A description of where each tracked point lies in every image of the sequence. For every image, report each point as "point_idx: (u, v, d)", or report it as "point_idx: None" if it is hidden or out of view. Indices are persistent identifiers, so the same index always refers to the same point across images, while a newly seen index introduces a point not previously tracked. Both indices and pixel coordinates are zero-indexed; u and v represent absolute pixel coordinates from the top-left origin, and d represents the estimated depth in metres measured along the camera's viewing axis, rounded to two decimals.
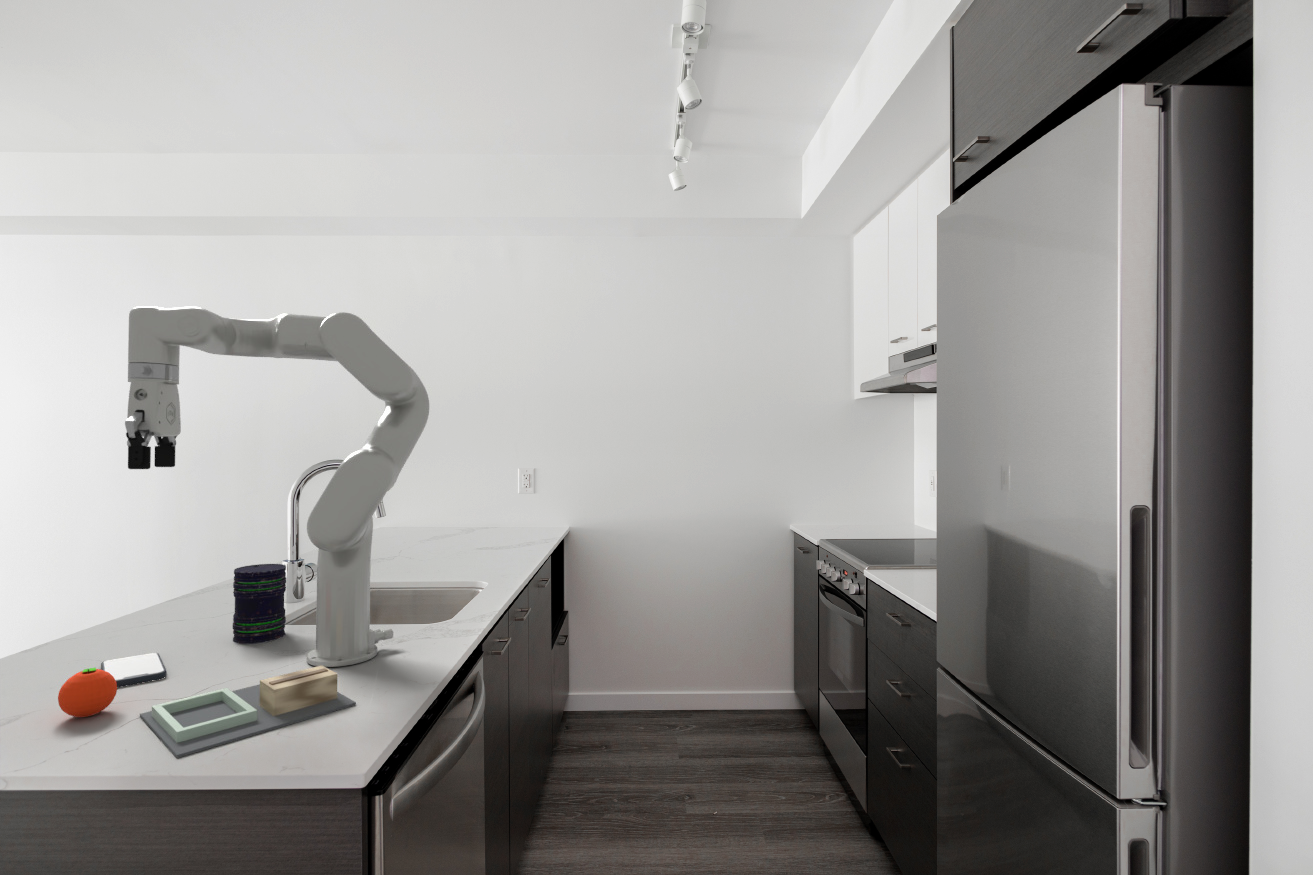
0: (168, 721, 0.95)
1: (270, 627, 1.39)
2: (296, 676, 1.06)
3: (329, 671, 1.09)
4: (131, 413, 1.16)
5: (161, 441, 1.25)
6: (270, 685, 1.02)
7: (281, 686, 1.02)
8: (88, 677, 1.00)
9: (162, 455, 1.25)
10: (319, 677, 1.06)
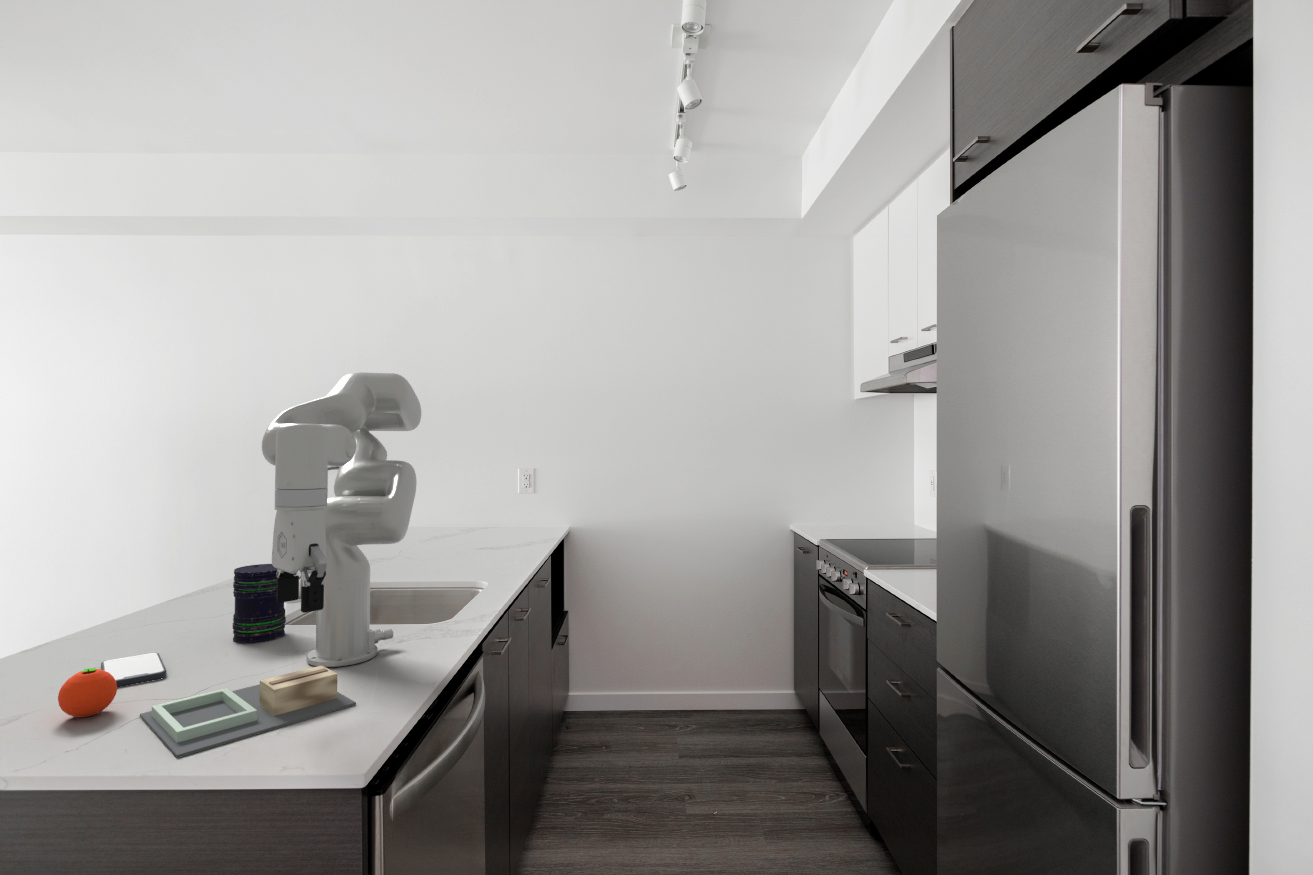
0: (168, 721, 0.95)
1: (270, 627, 1.39)
2: (296, 676, 1.06)
3: (329, 671, 1.09)
4: None
5: None
6: (270, 685, 1.02)
7: (281, 686, 1.02)
8: (88, 677, 1.00)
9: None
10: (319, 677, 1.06)
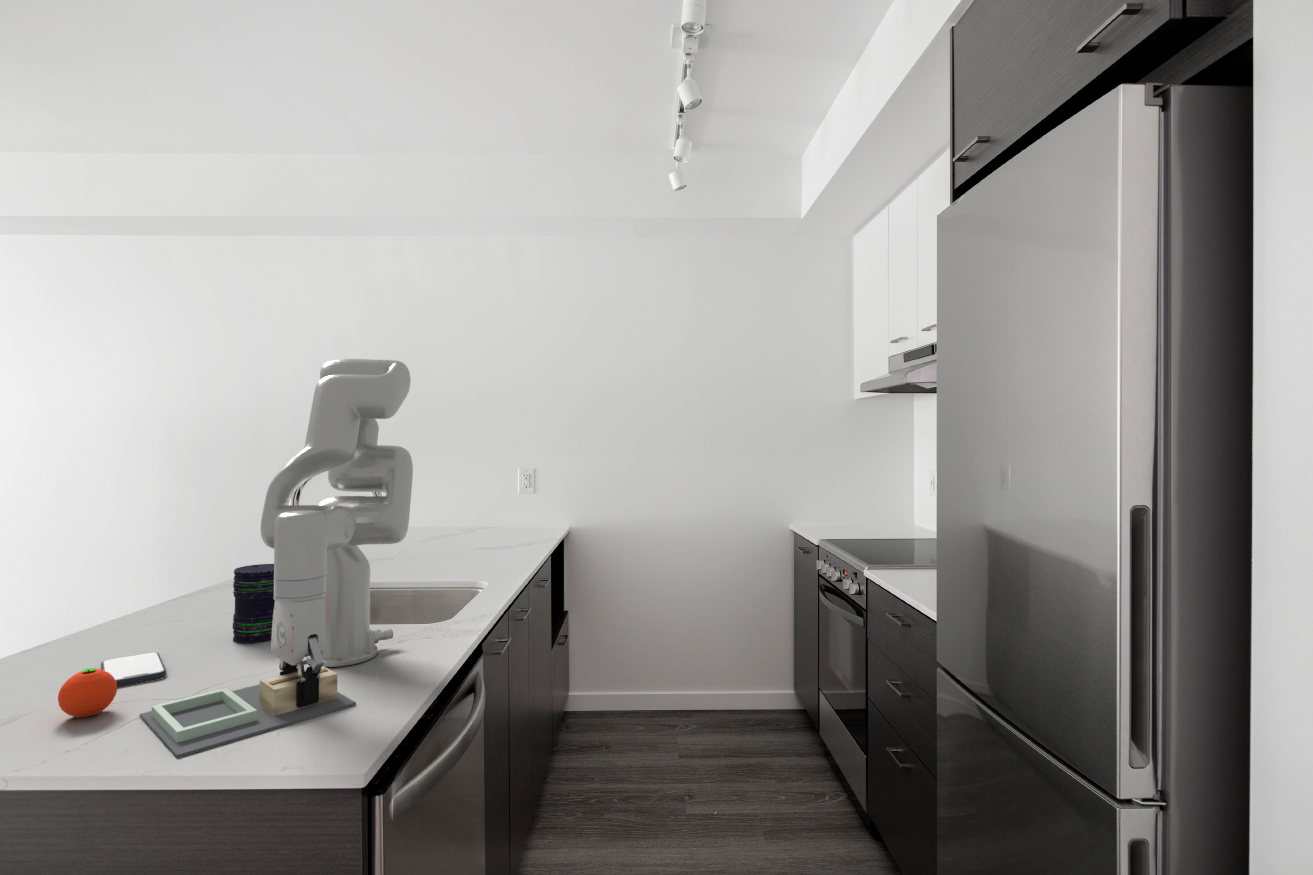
0: (168, 721, 0.95)
1: (270, 627, 1.39)
2: (296, 676, 1.06)
3: (329, 671, 1.09)
4: None
5: None
6: (270, 685, 1.02)
7: (281, 686, 1.02)
8: (88, 677, 1.00)
9: None
10: None
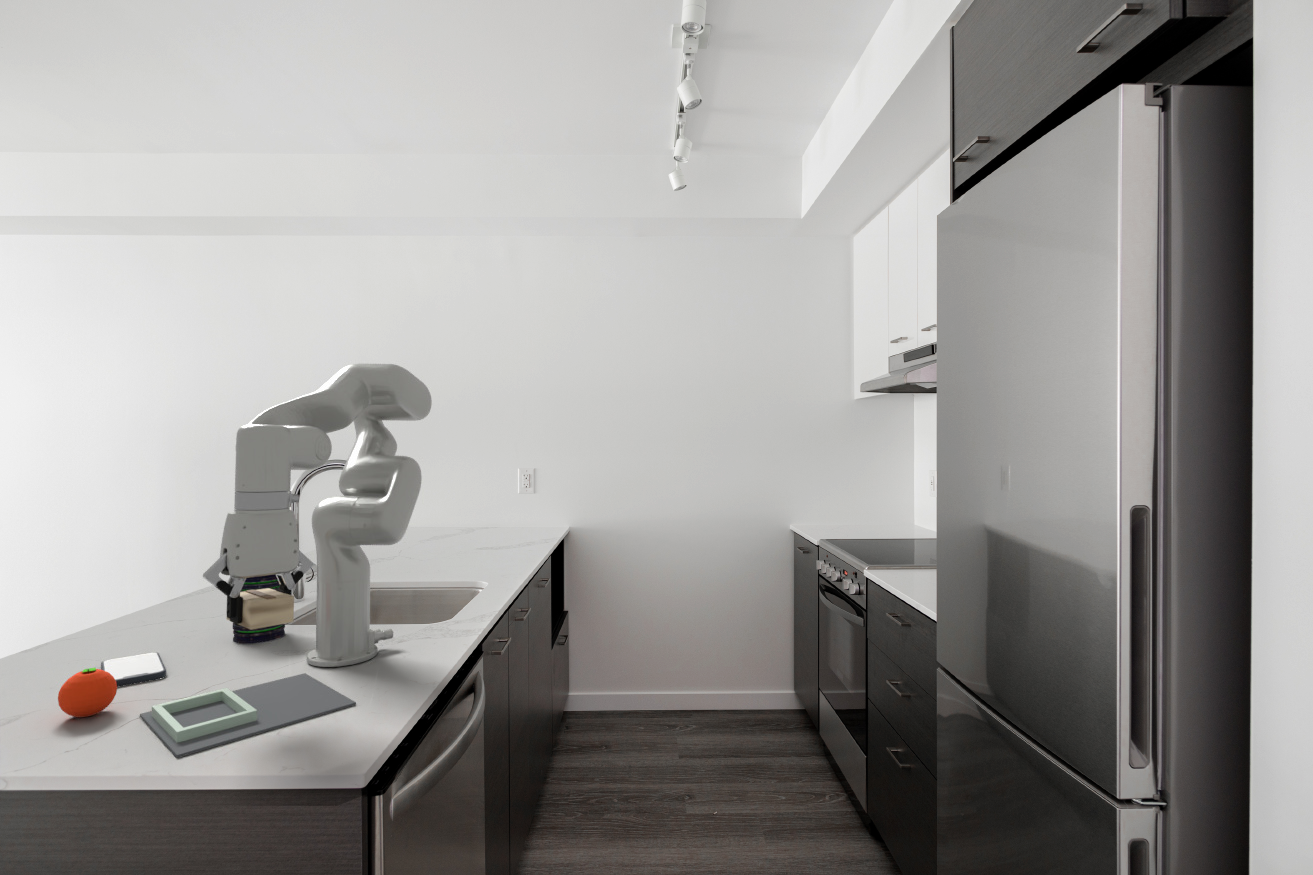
0: (168, 721, 0.95)
1: (270, 627, 1.39)
2: (260, 593, 1.03)
3: (265, 600, 0.99)
4: None
5: None
6: (244, 591, 1.05)
7: None
8: (88, 677, 1.00)
9: None
10: (247, 599, 0.99)
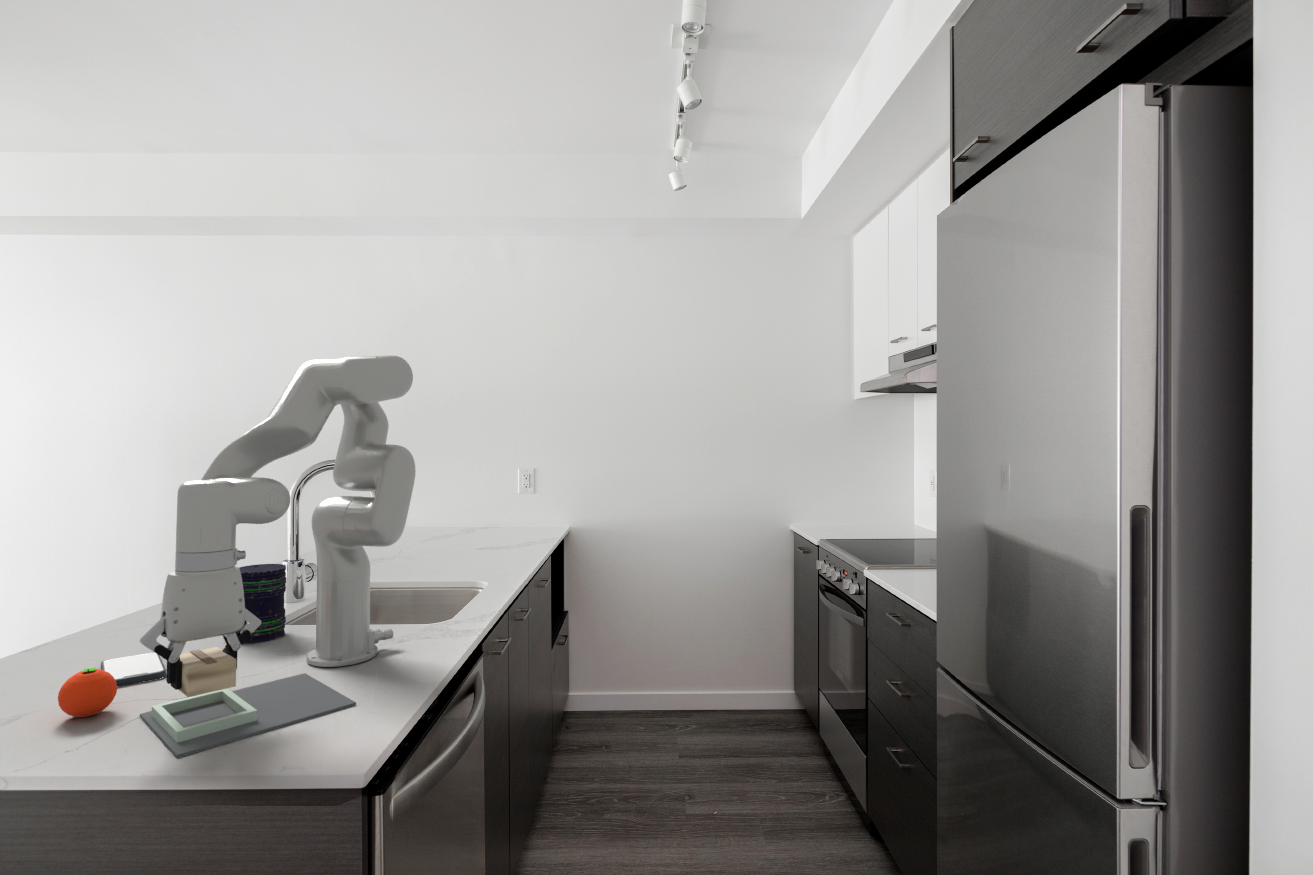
0: (168, 721, 0.95)
1: (270, 627, 1.39)
2: (203, 655, 0.99)
3: (204, 665, 0.96)
4: None
5: None
6: (189, 652, 1.02)
7: None
8: (88, 677, 1.00)
9: None
10: (186, 664, 0.96)
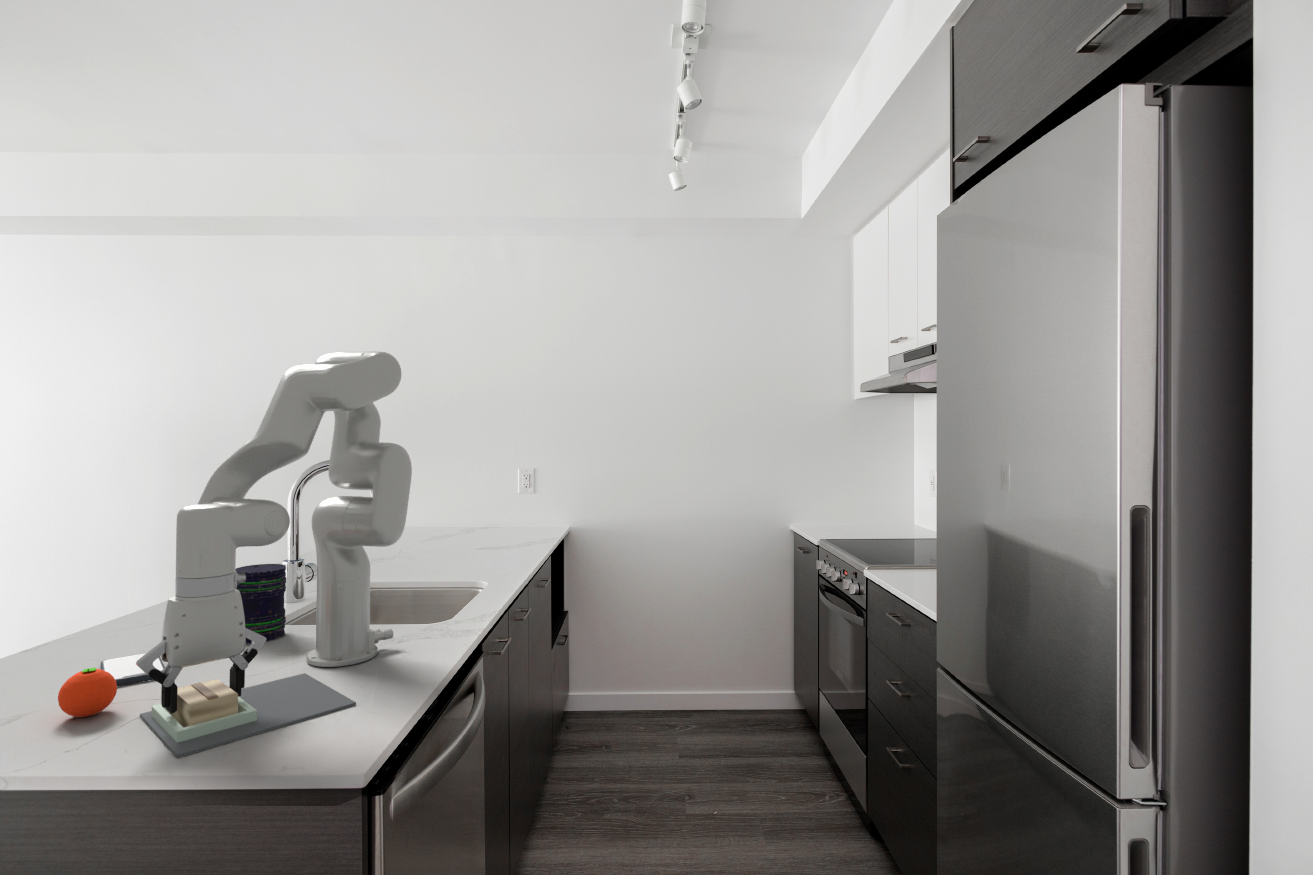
0: (168, 721, 0.95)
1: (270, 627, 1.39)
2: (204, 689, 1.00)
3: (206, 700, 0.96)
4: None
5: None
6: (190, 685, 1.02)
7: (177, 690, 1.00)
8: (88, 677, 1.00)
9: None
10: (188, 700, 0.96)
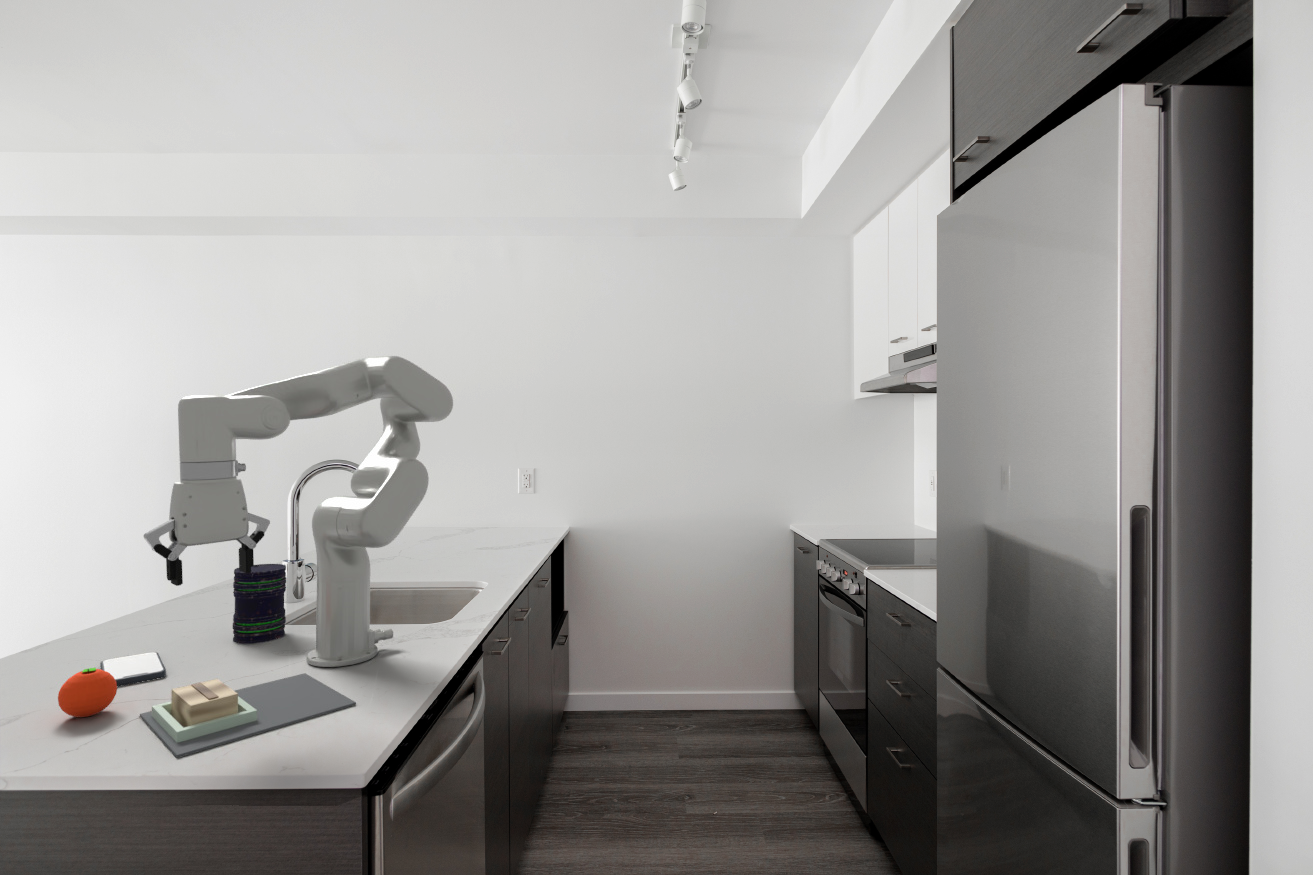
0: (168, 721, 0.95)
1: (270, 627, 1.39)
2: (204, 689, 1.00)
3: (206, 700, 0.96)
4: (247, 514, 1.09)
5: None
6: (190, 685, 1.02)
7: (177, 690, 1.00)
8: (88, 677, 1.00)
9: None
10: (188, 700, 0.96)
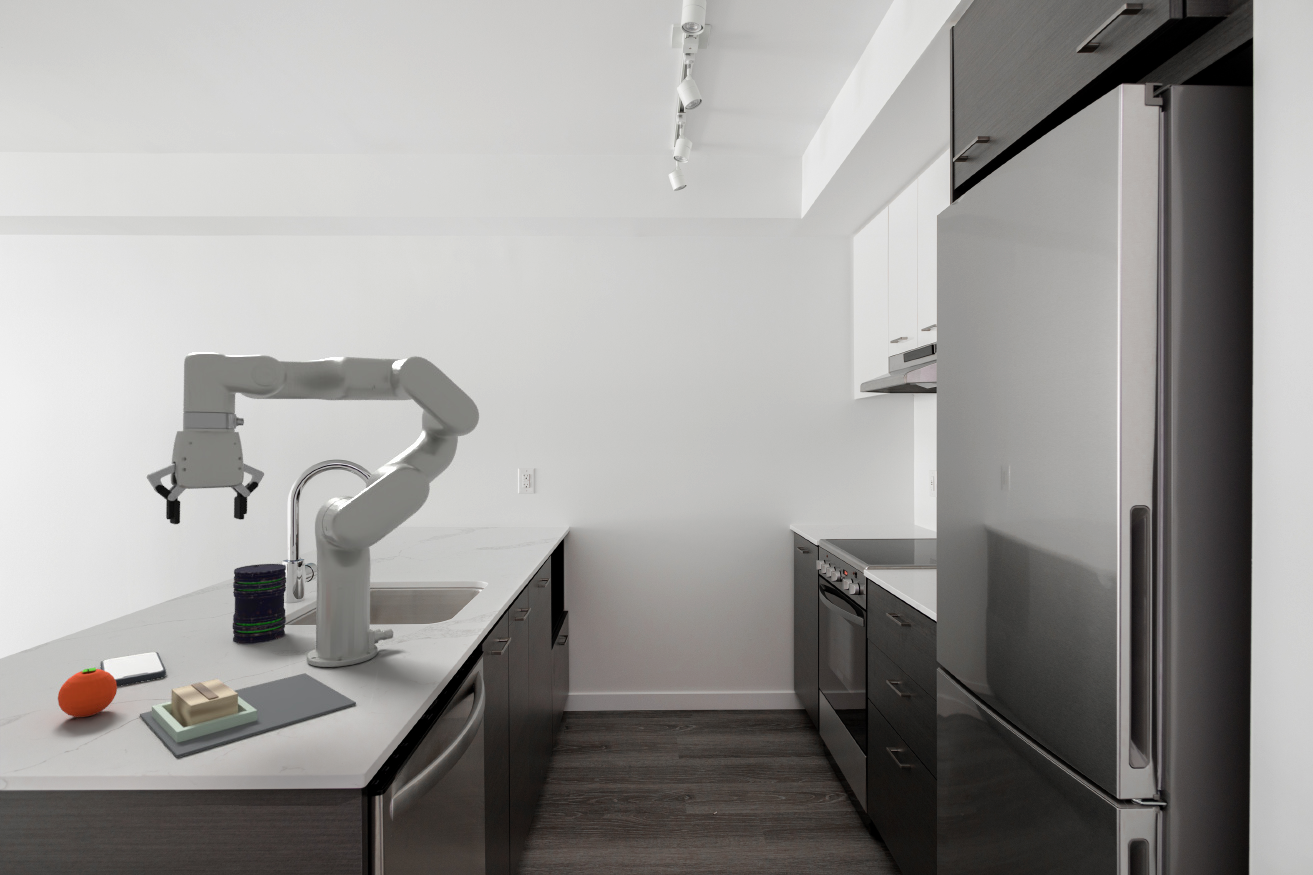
0: (168, 721, 0.95)
1: (270, 627, 1.39)
2: (204, 689, 1.00)
3: (206, 700, 0.96)
4: None
5: None
6: (190, 685, 1.02)
7: (177, 690, 1.00)
8: (88, 677, 1.00)
9: None
10: (188, 700, 0.96)
